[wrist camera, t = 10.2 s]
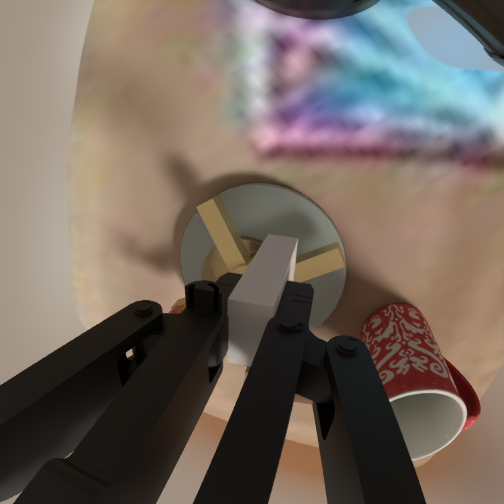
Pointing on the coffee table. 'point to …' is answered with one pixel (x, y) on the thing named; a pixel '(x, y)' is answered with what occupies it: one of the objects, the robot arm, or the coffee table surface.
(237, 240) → the cam capstan
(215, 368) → the robot arm
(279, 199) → the stand plate
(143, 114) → the coffee table surface
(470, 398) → the mug
